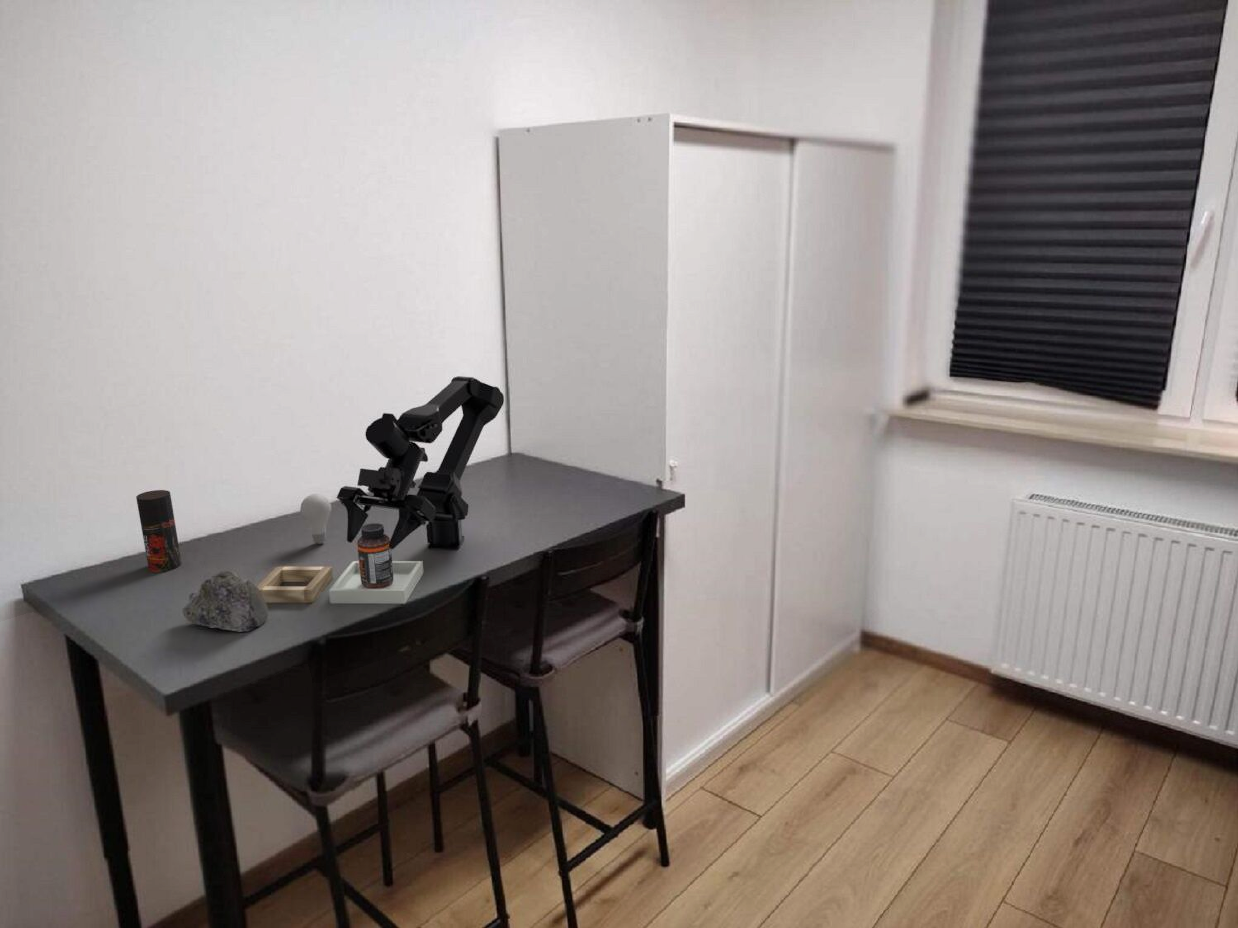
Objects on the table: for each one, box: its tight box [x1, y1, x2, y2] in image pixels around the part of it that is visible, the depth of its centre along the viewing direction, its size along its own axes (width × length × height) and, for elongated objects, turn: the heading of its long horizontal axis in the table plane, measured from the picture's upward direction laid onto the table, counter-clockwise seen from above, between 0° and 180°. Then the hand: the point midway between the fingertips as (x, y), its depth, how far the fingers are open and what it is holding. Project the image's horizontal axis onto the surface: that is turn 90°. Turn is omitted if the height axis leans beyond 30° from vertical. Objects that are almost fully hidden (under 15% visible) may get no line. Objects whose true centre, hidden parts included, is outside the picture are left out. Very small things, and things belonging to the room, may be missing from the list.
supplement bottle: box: [356, 522, 393, 588], centre depth 165 cm, size 6×6×11 cm
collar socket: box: [256, 566, 334, 604], centre depth 166 cm, size 11×11×2 cm
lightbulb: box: [300, 493, 332, 545], centre depth 187 cm, size 6×6×11 cm
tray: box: [328, 560, 424, 605], centre depth 166 cm, size 14×14×2 cm
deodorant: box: [135, 489, 182, 573], centre depth 176 cm, size 6×6×15 cm
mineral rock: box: [182, 570, 269, 633], centre depth 152 cm, size 13×11×10 cm
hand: (369, 545), depth 163 cm, fingers open, 9 cm apart
